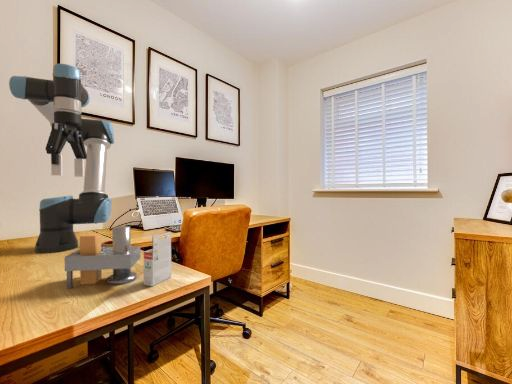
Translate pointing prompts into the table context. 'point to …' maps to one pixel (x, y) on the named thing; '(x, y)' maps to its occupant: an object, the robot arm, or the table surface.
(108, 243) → the mug
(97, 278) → the orange rectangular prism
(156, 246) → the ink box
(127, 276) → the legged grey stand
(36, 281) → the table surface
